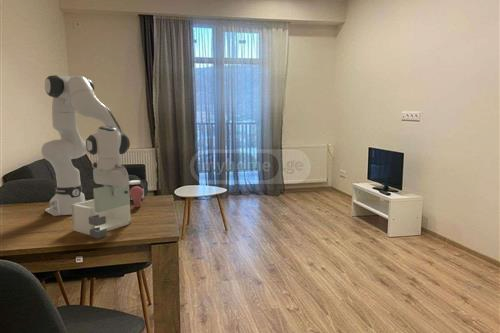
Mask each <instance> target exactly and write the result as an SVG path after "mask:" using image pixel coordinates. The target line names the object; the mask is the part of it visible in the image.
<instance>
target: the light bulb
mask: <svg viewBox="0 0 500 333" xmlns="http://www.w3.org/2000/svg"><path fill="white" fill-rule="evenodd" d="M143 189H144V188H143ZM143 189H142V188H141V187H139V186H135V187H133V188H132V189H131V190H130V196H131V197H132V199H133V201H132V202H133V203H134V204H133V205H134V207H135V208H140V207H142V202H141V201H142V200H141V198H142V196H143Z"/></svg>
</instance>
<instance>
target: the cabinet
mask: <svg viewBox="0 0 500 333" xmlns="http://www.w3.org/2000/svg"><path fill="white" fill-rule="evenodd" d="M71 206H72V214H71V217H72V227H73V231H74V232H78V233H81V234H84V235H86V236H87V235H88V236H89V237H91V238H94V239H102V238H105V237H107V236H108V232H109V231H112V230H115V229H119V228H122V227H124V226H128V225H131V224H132V217H131V203H130V204H129V205H125V206H121V207H118V208H114V209H110V210H107V211H103V212H99V213H98V212H95V205H94V198H93V199H89V200H85V201H84V202H80V203H75V204H71Z"/></svg>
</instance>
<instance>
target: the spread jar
mask: <svg viewBox="0 0 500 333" xmlns="http://www.w3.org/2000/svg"><path fill="white" fill-rule="evenodd" d="M135 186H139V187H141V188H142V189H143V196H142V198H141V201H142V200H143V199H144V196H145V193H144V192H145V190H144V186H143V185H142V184H141V180H140V179H139V180H138V179H133V180H129V194H130V190H131V189H132V188H133V187H135ZM130 202H133V199H132V197H131V196H130Z"/></svg>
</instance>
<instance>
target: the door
mask: <svg viewBox="0 0 500 333" xmlns="http://www.w3.org/2000/svg"><path fill="white" fill-rule="evenodd" d="M92 190H93V199H94V205H95V212H98V213H99V212H103V211H107V210H110V209H114V208H118V207H121V206H125V205H129V204H130V205H131V201H130V194H129V186H128V187H124V188H121V187H119V190H118V196H113V195H112V192H113V191H114V189H113V186H104V185H103V186H100V187H95V188H92Z"/></svg>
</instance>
